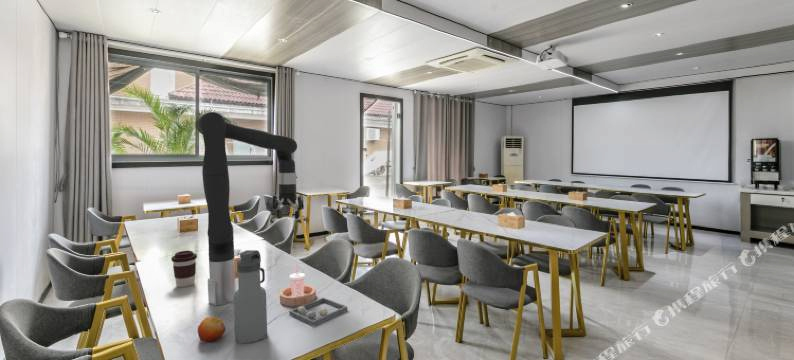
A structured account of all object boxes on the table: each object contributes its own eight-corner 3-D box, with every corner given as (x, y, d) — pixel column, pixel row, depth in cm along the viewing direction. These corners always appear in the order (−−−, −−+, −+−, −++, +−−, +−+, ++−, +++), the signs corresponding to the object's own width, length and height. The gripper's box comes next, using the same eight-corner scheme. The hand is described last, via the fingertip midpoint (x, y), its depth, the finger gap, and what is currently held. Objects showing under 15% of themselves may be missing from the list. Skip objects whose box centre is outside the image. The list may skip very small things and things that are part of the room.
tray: (313, 325, 125) (313, 321, 125) (289, 314, 134) (289, 310, 134) (347, 310, 138) (347, 306, 138) (323, 301, 146) (323, 297, 146)
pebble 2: (311, 321, 128) (311, 313, 128) (306, 319, 130) (305, 311, 130) (318, 318, 131) (317, 310, 130) (312, 316, 132) (312, 308, 132)
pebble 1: (300, 317, 132) (300, 309, 132) (295, 314, 134) (295, 306, 134) (307, 314, 134) (307, 306, 134) (302, 312, 136) (302, 304, 136)
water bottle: (243, 328, 124) (241, 247, 122) (272, 328, 123) (269, 247, 121) (229, 344, 113) (225, 256, 111) (260, 344, 113) (257, 256, 111)
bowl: (293, 309, 139) (293, 300, 139) (273, 299, 148) (272, 292, 148) (322, 297, 150) (322, 290, 150) (301, 289, 159) (301, 282, 158)
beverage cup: (286, 298, 147) (285, 264, 146) (296, 293, 153) (295, 260, 152) (299, 300, 145) (298, 266, 144) (308, 294, 151) (307, 261, 150)
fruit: (198, 329, 120) (210, 309, 120) (220, 340, 121) (232, 320, 121) (186, 342, 112) (199, 320, 112) (209, 354, 113) (222, 332, 112)
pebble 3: (323, 319, 130) (322, 310, 130) (317, 316, 132) (317, 308, 132) (329, 316, 133) (329, 308, 133) (324, 313, 135) (323, 306, 134)
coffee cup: (167, 287, 163) (166, 254, 162) (187, 279, 172) (186, 248, 171) (183, 290, 159) (181, 256, 158) (202, 282, 168) (201, 250, 167)
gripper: (268, 183, 161) (269, 219, 162) (297, 183, 157) (298, 220, 158) (277, 182, 168) (278, 216, 169) (305, 182, 164) (306, 218, 165)
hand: (288, 218), depth 164 cm, fingers open, 8 cm apart
